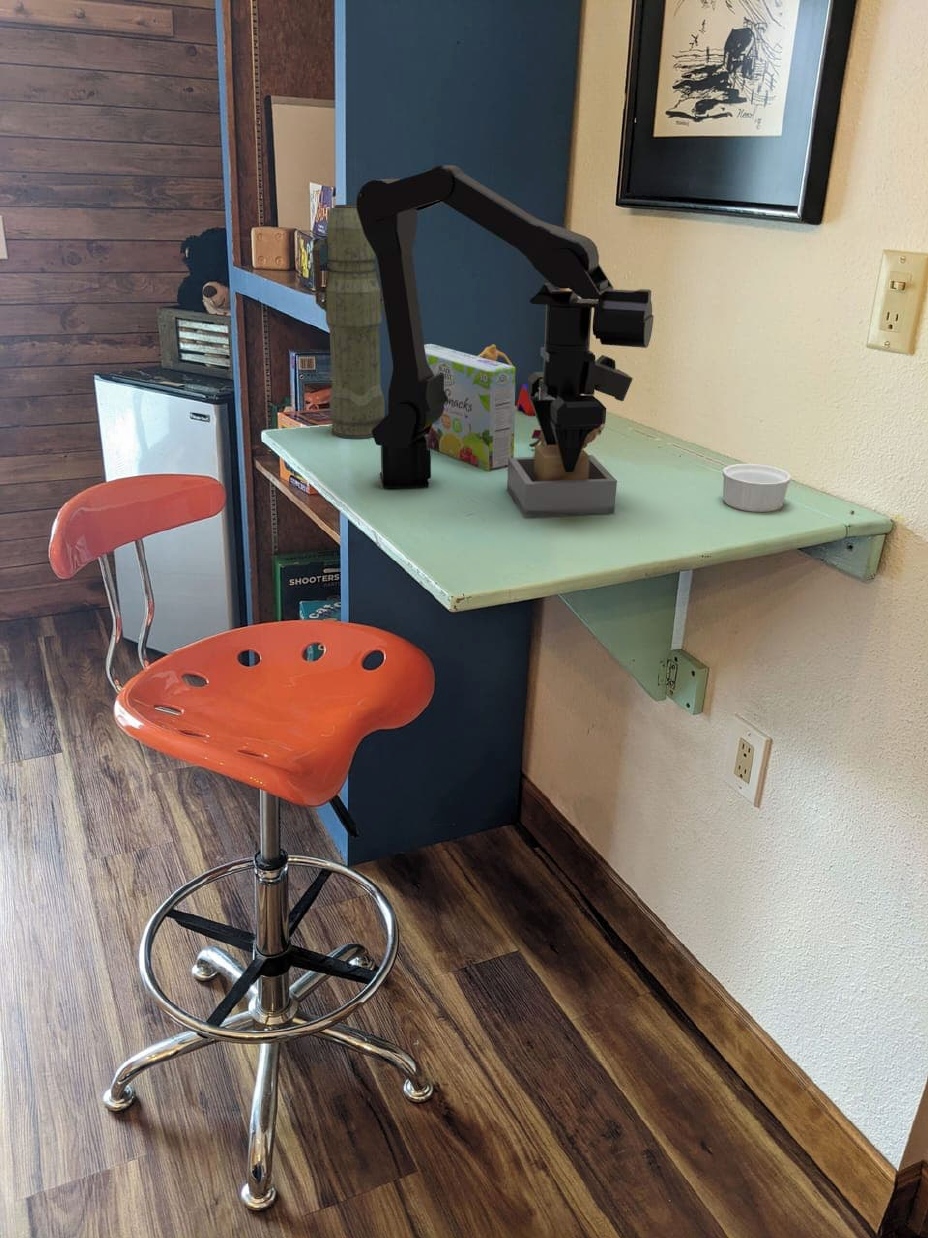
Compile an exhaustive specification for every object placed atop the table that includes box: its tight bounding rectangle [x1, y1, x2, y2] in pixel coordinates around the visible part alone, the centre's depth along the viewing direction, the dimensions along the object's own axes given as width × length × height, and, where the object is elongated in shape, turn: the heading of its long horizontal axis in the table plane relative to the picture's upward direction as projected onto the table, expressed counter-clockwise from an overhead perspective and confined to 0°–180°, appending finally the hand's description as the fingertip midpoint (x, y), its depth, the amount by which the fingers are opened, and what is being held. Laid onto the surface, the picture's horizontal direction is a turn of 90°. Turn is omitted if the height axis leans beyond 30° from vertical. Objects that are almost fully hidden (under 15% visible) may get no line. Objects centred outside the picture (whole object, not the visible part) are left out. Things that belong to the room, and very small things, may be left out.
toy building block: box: [515, 383, 535, 416], centre depth 179 cm, size 4×4×8 cm
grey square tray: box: [506, 454, 618, 519], centre depth 135 cm, size 12×12×4 cm
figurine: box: [477, 343, 514, 366], centre depth 177 cm, size 8×6×12 cm
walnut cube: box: [533, 444, 590, 482], centre depth 135 cm, size 6×6×6 cm
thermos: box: [311, 204, 386, 440], centre depth 160 cm, size 9×12×35 cm
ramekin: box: [722, 463, 792, 513], centre depth 136 cm, size 9×9×4 cm
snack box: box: [424, 343, 517, 472], centre depth 154 cm, size 21×6×15 cm, turn 37°
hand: (560, 461), depth 134 cm, fingers open, 9 cm apart
